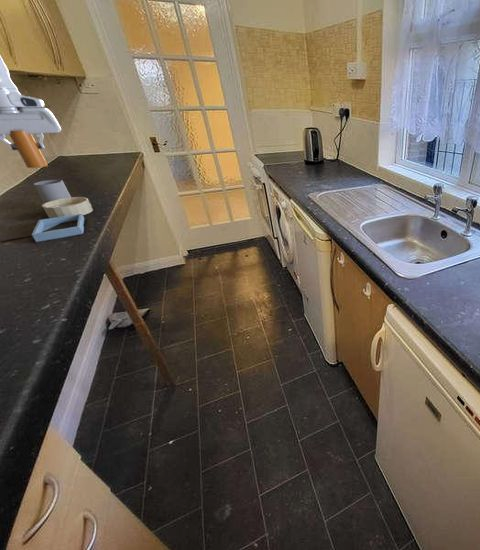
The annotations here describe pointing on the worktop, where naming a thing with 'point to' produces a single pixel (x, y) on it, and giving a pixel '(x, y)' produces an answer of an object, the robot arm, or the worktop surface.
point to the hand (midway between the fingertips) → (28, 149)
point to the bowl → (67, 207)
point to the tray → (60, 233)
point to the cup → (52, 190)
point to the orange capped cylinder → (28, 149)
